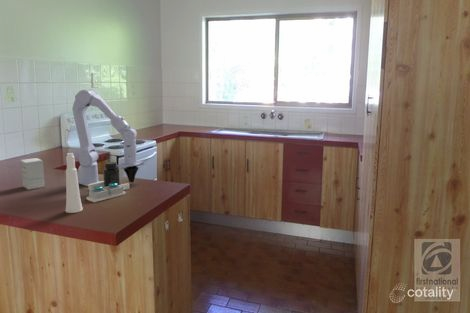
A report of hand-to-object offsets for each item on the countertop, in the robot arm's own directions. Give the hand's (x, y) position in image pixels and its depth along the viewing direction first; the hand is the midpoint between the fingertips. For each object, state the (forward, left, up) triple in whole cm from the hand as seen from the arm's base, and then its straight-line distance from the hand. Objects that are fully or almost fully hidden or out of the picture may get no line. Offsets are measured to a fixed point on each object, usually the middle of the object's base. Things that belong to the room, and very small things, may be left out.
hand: (131, 181), depth 179 cm
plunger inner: (+9, -15, 0) cm, 18 cm away
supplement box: (-29, -32, -1) cm, 44 cm away
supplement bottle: (0, -10, -1) cm, 11 cm away
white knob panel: (+3, -16, -1) cm, 16 cm away
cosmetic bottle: (+15, -36, -1) cm, 39 cm away
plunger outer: (+9, -22, 0) cm, 24 cm away
